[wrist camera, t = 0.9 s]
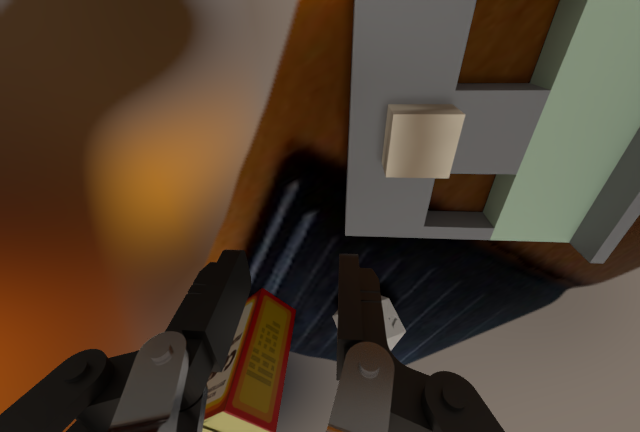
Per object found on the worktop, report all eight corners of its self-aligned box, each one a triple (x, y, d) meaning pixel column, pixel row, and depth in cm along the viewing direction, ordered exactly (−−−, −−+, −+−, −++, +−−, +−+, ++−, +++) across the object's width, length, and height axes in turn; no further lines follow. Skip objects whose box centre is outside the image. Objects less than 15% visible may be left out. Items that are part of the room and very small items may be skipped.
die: (390, 318, 44) (428, 347, 34) (343, 350, 42) (369, 390, 33) (367, 272, 43) (399, 290, 33) (317, 303, 41) (337, 331, 32)
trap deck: (714, -39, 19) (842, -60, 14) (562, 225, 32) (603, 263, 27) (355, -28, 21) (358, -43, 16) (345, 219, 33) (345, 254, 28)
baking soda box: (262, 287, 41) (223, 414, 28) (296, 310, 43) (274, 437, 30) (225, 314, 45) (176, 436, 32) (258, 334, 47) (225, 454, 34)
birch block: (452, 104, 23) (465, 114, 20) (438, 163, 25) (448, 178, 23) (388, 104, 23) (393, 114, 20) (381, 162, 26) (385, 177, 23)
